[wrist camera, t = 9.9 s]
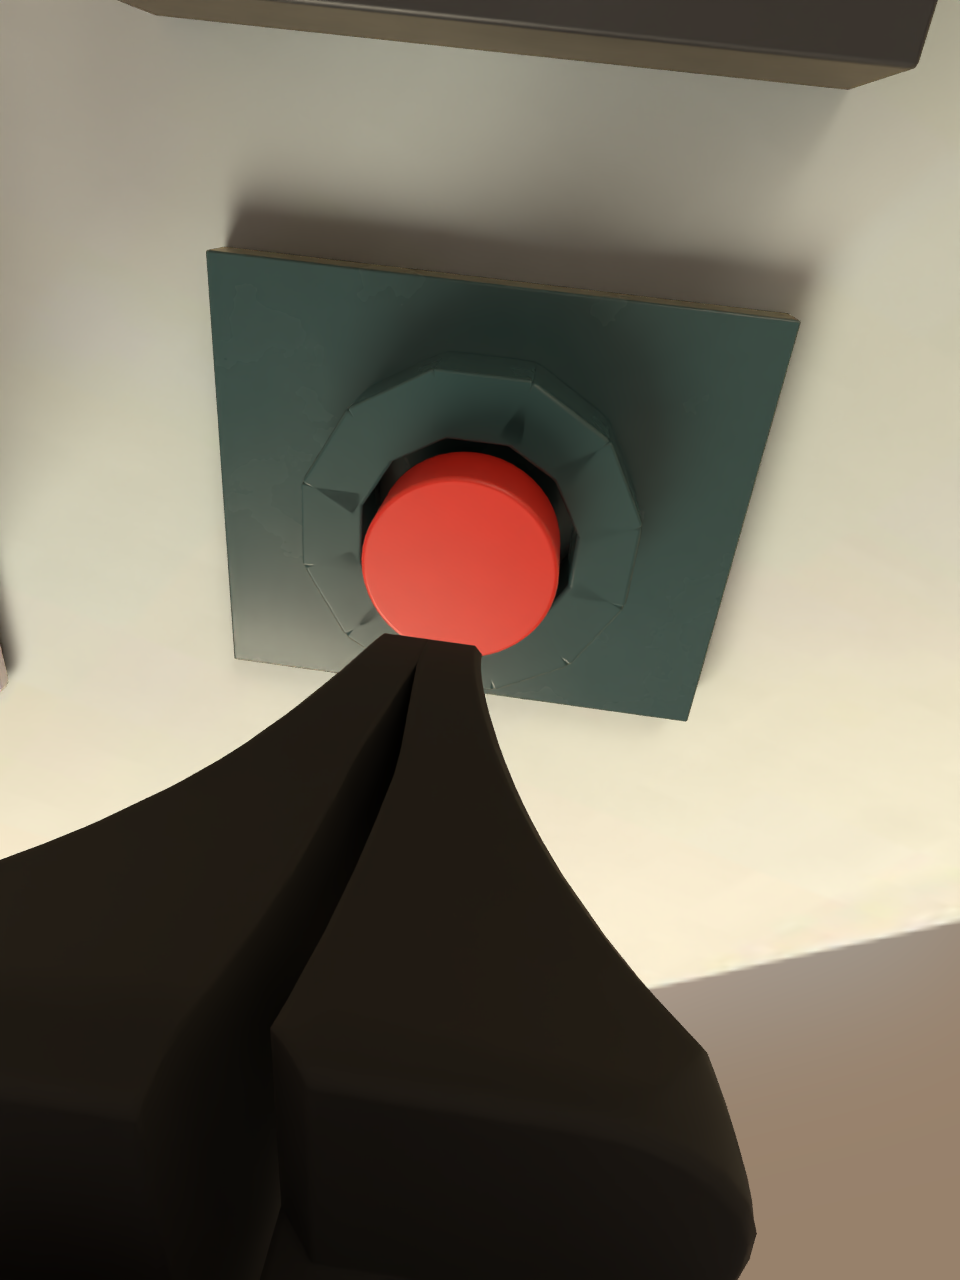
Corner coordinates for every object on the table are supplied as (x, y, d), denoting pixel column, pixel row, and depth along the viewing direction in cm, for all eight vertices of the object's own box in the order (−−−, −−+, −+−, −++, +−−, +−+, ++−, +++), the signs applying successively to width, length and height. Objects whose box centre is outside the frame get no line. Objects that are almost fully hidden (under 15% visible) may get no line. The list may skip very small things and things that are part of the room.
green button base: (246, 640, 20) (205, 698, 18) (222, 245, 16) (164, 257, 13) (682, 701, 20) (696, 768, 17) (789, 313, 15) (827, 337, 13)
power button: (375, 608, 17) (358, 645, 15) (381, 438, 15) (362, 464, 14) (546, 631, 17) (544, 670, 15) (573, 463, 15) (573, 491, 13)
